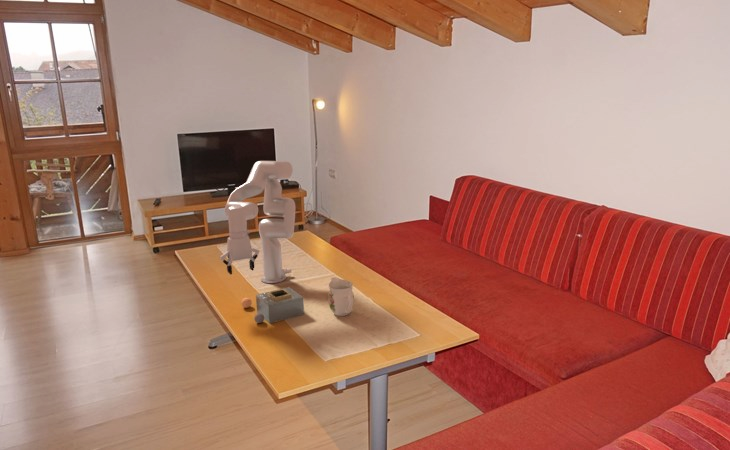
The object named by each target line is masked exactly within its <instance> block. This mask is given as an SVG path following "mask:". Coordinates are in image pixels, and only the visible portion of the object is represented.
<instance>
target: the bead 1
mask: <svg viewBox="0 0 730 450" xmlns="http://www.w3.org/2000/svg"><path fill="white" fill-rule="evenodd" d="M252 304H253V302H252V299H251V298H250V297H244V298H242V300H241V306H242V307H243V308H246V309H248V308H251V306H252Z"/></svg>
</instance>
